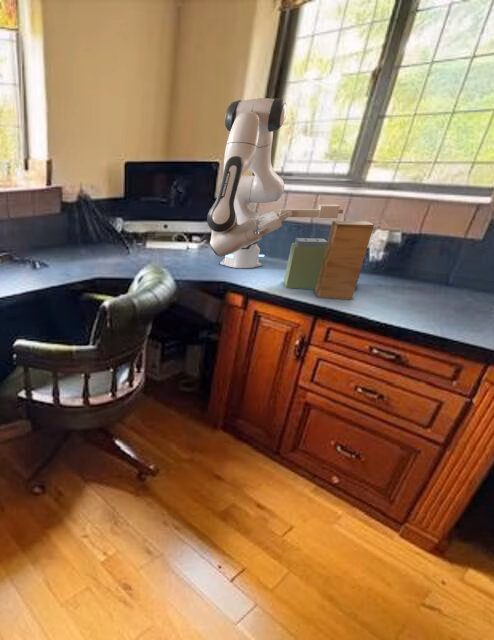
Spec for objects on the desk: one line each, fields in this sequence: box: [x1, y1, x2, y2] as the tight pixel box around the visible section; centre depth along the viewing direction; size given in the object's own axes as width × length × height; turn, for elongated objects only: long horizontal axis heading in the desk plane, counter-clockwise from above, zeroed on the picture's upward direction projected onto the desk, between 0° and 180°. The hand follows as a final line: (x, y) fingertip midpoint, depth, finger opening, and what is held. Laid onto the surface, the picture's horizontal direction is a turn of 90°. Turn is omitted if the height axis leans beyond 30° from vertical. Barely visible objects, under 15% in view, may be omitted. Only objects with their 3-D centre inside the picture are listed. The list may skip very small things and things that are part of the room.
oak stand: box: [314, 220, 375, 300], centre depth 152 cm, size 8×11×26 cm
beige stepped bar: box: [278, 203, 344, 219], centre depth 153 cm, size 5×21×4 cm, turn 74°
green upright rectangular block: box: [283, 237, 328, 290], centre depth 166 cm, size 8×12×18 cm, turn 74°
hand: (291, 211), depth 155 cm, fingers closed on beige stepped bar, 3 cm apart
